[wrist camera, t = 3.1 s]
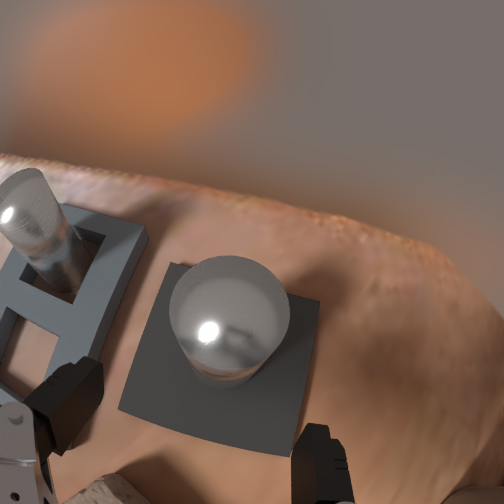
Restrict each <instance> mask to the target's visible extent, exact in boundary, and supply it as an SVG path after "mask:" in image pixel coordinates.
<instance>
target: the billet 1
mask: <svg viewBox="0 0 504 504" xmlns="http://www.w3.org/2000/svg"><path fill="white" fill-rule="evenodd" d="M0 231H1V232H2V234H3V235H4V236H5V237H6V238H7V239H8V241H9V242H10V243H11V244H12V245H13V246H14V248H15V249H16V250H17V251H18V252H19V253H20V254H21V256H22V257H23V258H24V259H25V260H26V261H27V262H28V263H29V264H30V265H31V266H32V267H33V268H34V270H35V271H36V272H37V273H38V274H39V275H40V276H41V277H42V278H43V279H44V280H45V281H46V282H47V283H48V284H49V285H50V286H51V287H52V288H53V289H54V290H56V291H57V292H60V293H71V292H74V291H76V290H78V289H79V288H80V287H81V285H82V283H83V281H84V278H85V276H86V274H87V272H88V270H89V268H90V266H91V264H92V261H91V257H90V255H89V253H88V252H87V250H86V249H85V247H84V246H83V244H82V242H81V241H80V239H79V238H78V236H77V234H76V233H75V231H74V229H73V228H72V226H71V224H70V223H69V221H68V219H67V218H66V216H65V214H64V212H63V211H62V209H61V207H60V205H59V204H58V202H57V200H56V198H55V196H54V194H53V193H52V191H51V189H50V187H49V185H48V183H47V181H46V179H45V177H44V175H43V173H42V172H41V171H40V170H38V169H36V168H27V169H23V170H20V171H18V172H16V173H14V174H13V175H11V176H10V177H9V178H7V179H6V180H5V181H4V182H3V183H2V184H1V185H0Z"/></svg>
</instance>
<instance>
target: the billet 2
mask: <svg viewBox="0 0 504 504" xmlns="http://www.w3.org/2000/svg"><path fill="white" fill-rule="evenodd" d="M169 315H170V322H171V325H172V329H173V331H174V334H175V336H176V338H177V340H178V342H179V344H180V346H181V348H182V350H183V352H184V354H185V356H186V358H187V360H188V361H189V363H190V365H191V367H192V369H193V371H194V373H195V374H196V376H197V377H198V378H199V379H200V380H201V381H202V382H203V383H204V384H206V385H207V386H209V387H212V388H214V389H219V390H230V389H234V388H237V387H239V386H241V385H243V384H244V383H246V382H247V381H248V380H249V379H250V378H251V377H252V376H253V374H254V373H255V372H256V371H257V370H258V369H259V368H260V367H261V365H262V364H263V363H264V362H265V361H266V360H267V359H268V358H269V356H270V355H271V354H272V353H273V352H274V351H275V349H276V348H277V347H278V346H279V345H280V343H281V341H282V340H283V338H284V336H285V334H286V332H287V329H288V325H289V319H290V307H289V301H288V298H287V295H286V292H285V290H284V288H283V286H282V285H281V283H280V281H279V280H278V279H277V278H276V276H275V275H274V274H273V273H272V272H271V271H269V270H268V269H267V268H266V267H264V266H262V265H261V264H259V263H257V262H255V261H253V260H250V259H247V258H244V257H239V256H218V257H213V258H209V259H206V260H204V261H201V262H200V263H198V264H196V265H194V266H193V267H191V268H190V269H189V270H188V271H187V272H186V273H184V275H183V276H182V277H181V278H180V279H179V281H178V283H177V284H176V286H175V288H174V290H173V293H172V296H171V299H170V306H169Z"/></svg>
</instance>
